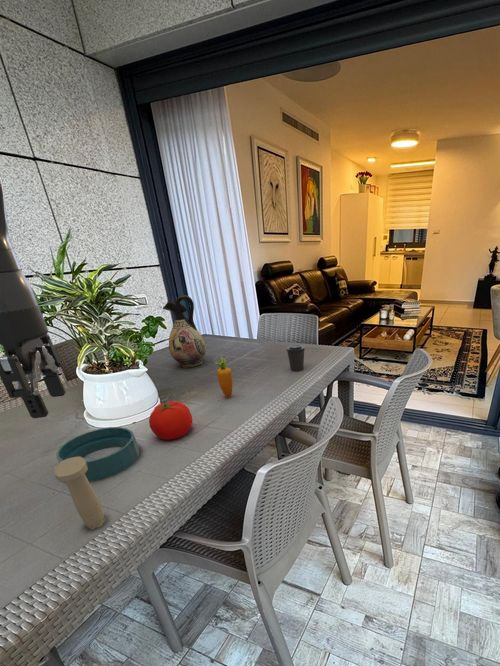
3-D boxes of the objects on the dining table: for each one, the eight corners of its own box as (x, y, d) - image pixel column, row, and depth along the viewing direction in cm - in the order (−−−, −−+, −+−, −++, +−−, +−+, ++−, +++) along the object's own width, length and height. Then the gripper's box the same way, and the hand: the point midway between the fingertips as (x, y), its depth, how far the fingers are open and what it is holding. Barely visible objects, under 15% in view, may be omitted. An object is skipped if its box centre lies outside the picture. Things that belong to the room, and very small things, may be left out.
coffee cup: (299, 373, 145) (297, 349, 140) (283, 370, 149) (281, 347, 144) (310, 367, 151) (309, 344, 146) (294, 364, 155) (293, 342, 150)
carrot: (232, 402, 123) (225, 360, 115) (219, 401, 123) (211, 360, 116) (238, 396, 127) (231, 356, 120) (225, 395, 128) (217, 355, 120)
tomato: (176, 422, 111) (168, 392, 106) (203, 430, 106) (197, 399, 101) (144, 440, 101) (134, 408, 96) (172, 449, 97) (163, 416, 92)
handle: (110, 512, 75) (85, 454, 68) (111, 531, 70) (84, 471, 63) (84, 520, 73) (56, 461, 66) (83, 541, 68) (52, 479, 61)
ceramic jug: (171, 372, 152) (153, 299, 137) (175, 361, 165) (159, 293, 150) (211, 367, 155) (198, 296, 140) (212, 357, 168) (200, 291, 154)
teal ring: (55, 490, 83) (45, 469, 80) (77, 452, 97) (69, 433, 94) (134, 475, 87) (127, 455, 84) (144, 441, 101) (138, 422, 98)
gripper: (-1, 299, 56) (41, 392, 64) (-56, 317, 44) (4, 429, 52) (52, 296, 58) (86, 387, 66) (14, 312, 46) (61, 421, 54)
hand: (50, 405), depth 59 cm, fingers open, 8 cm apart
